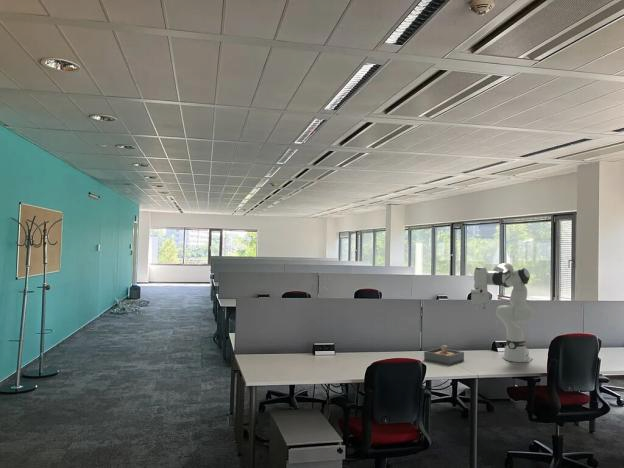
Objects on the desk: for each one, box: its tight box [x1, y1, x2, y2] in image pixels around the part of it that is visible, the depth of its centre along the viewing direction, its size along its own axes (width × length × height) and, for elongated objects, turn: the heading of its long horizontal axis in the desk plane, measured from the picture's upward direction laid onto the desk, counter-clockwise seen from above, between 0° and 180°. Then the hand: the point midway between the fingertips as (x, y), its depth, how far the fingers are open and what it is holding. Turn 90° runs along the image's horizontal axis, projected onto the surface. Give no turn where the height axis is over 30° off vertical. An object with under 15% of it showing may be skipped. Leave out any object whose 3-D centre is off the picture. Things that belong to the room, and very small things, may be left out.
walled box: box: [423, 347, 465, 366], centre depth 330 cm, size 20×20×6 cm
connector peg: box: [440, 345, 448, 355], centre depth 330 cm, size 4×4×9 cm
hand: (480, 309), depth 324 cm, fingers open, 8 cm apart
